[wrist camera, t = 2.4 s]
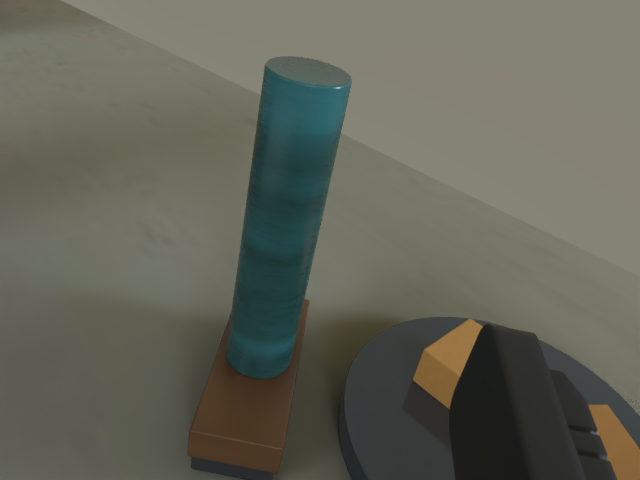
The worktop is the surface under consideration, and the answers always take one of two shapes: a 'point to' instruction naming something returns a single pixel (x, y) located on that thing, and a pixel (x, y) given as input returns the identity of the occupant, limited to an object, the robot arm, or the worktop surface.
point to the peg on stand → (272, 271)
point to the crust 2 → (617, 443)
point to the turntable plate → (426, 405)
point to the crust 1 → (446, 361)
